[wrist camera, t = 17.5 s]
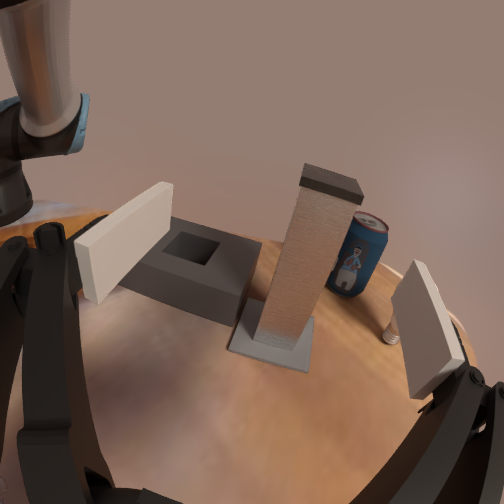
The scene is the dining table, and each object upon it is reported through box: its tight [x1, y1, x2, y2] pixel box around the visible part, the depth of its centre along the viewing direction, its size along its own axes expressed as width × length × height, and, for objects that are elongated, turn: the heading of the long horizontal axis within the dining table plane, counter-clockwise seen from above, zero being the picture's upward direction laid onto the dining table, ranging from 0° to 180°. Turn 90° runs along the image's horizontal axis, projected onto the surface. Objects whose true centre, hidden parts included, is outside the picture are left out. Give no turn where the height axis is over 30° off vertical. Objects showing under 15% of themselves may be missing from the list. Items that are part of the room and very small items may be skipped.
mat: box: [228, 297, 314, 373], centre depth 32 cm, size 9×9×1 cm
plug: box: [253, 163, 364, 352], centre depth 27 cm, size 5×5×19 cm
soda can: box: [326, 211, 389, 298], centre depth 40 cm, size 7×7×12 cm
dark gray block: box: [118, 217, 262, 327], centre depth 36 cm, size 16×12×5 cm
